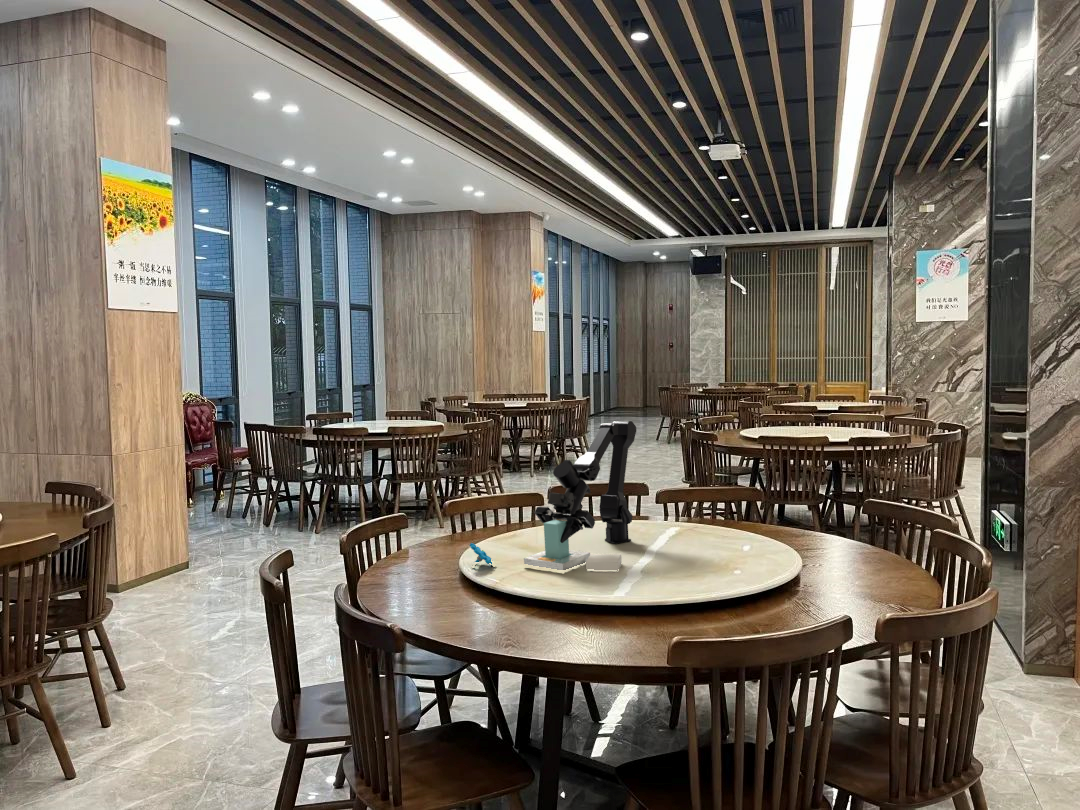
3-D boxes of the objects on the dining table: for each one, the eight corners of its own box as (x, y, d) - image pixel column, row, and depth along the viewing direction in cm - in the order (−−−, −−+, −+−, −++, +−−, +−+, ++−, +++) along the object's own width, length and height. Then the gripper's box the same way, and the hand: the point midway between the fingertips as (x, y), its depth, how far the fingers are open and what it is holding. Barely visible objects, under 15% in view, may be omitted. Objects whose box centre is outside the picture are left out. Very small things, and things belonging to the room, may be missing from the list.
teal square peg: (555, 556, 263) (553, 519, 262) (569, 557, 260) (567, 521, 259) (545, 560, 259) (543, 523, 259) (559, 561, 256) (557, 524, 256)
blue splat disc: (496, 566, 257) (471, 542, 257) (482, 581, 256) (457, 558, 257) (498, 561, 268) (474, 539, 268) (485, 576, 267) (461, 554, 268)
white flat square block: (591, 563, 260) (590, 553, 260) (621, 563, 258) (621, 553, 258) (586, 572, 251) (585, 561, 251) (618, 572, 249) (617, 561, 249)
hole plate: (552, 557, 270) (551, 547, 270) (590, 562, 261) (590, 551, 261) (524, 568, 259) (523, 557, 258) (563, 574, 250) (562, 562, 250)
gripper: (536, 479, 267) (515, 523, 259) (587, 483, 256) (567, 529, 248) (552, 500, 274) (533, 543, 266) (603, 505, 263) (584, 550, 255)
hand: (553, 541), depth 258 cm, fingers closed on teal square peg, 5 cm apart
